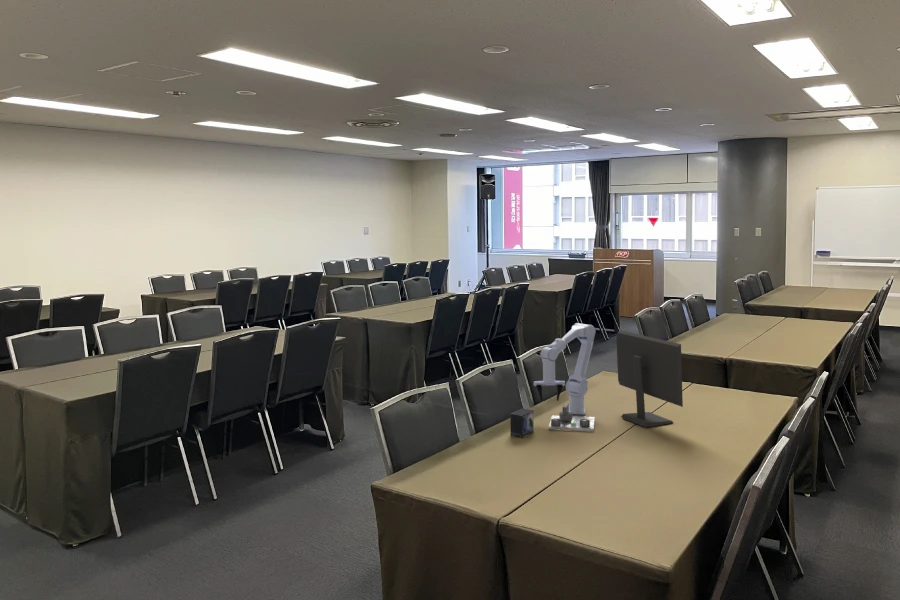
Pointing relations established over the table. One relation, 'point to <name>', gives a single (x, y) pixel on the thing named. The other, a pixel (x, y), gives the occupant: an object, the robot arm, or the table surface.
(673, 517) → the table surface
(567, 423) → the plate
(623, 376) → the computer monitor
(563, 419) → the knob
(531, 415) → the small box
